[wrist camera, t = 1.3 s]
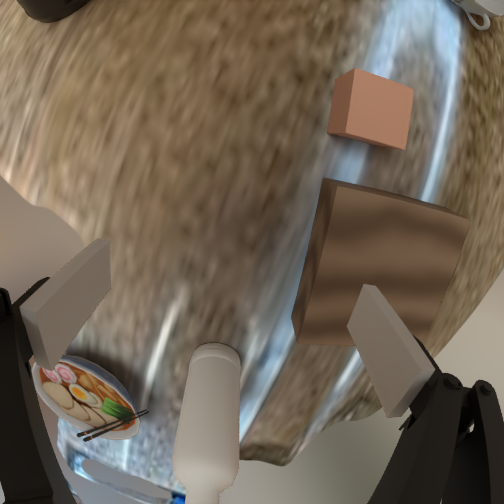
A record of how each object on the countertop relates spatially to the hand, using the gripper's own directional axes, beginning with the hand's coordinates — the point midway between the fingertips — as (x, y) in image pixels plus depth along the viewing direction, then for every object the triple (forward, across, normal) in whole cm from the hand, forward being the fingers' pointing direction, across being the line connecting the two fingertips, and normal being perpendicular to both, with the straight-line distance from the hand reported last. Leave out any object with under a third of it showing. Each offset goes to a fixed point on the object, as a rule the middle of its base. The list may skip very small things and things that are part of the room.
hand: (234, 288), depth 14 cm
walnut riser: (+22, +20, -5) cm, 30 cm away
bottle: (+23, 0, -26) cm, 35 cm away
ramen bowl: (+23, -22, -38) cm, 50 cm away
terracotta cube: (+22, +12, +13) cm, 29 cm away
